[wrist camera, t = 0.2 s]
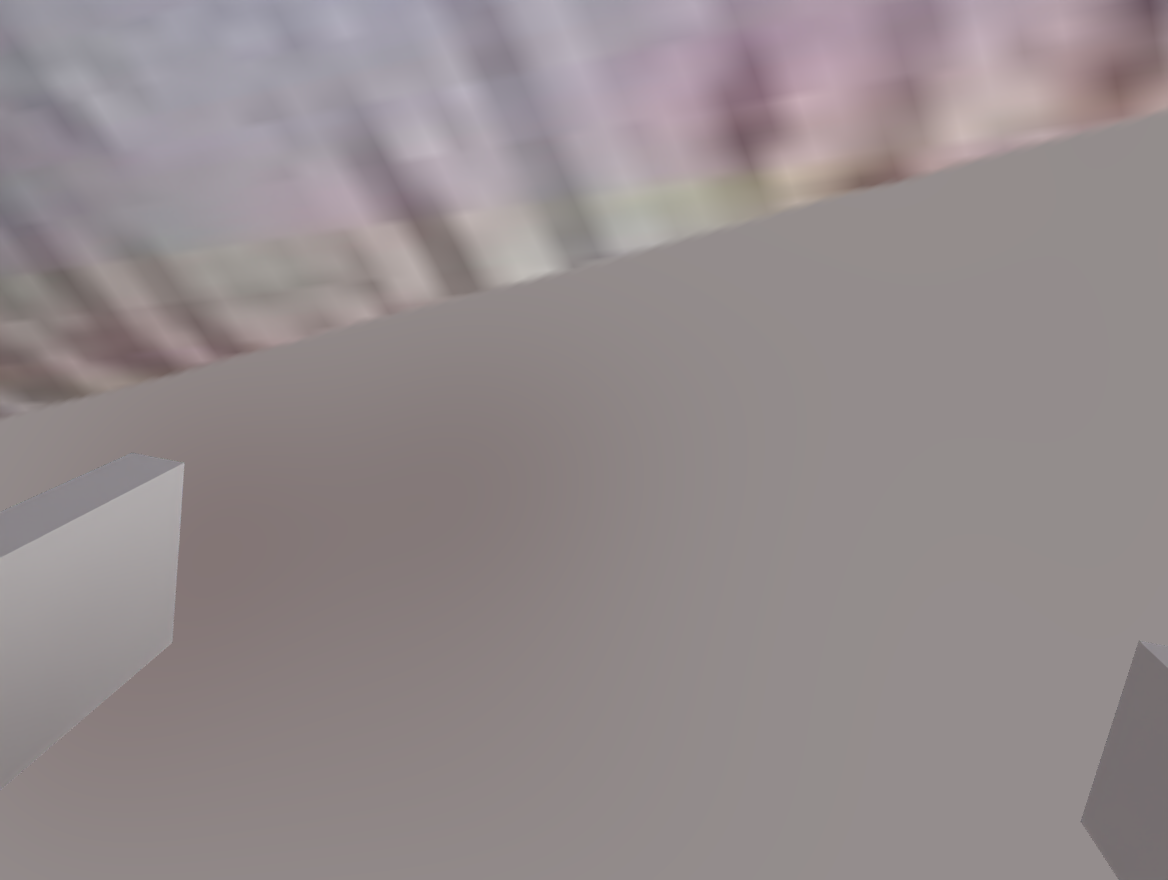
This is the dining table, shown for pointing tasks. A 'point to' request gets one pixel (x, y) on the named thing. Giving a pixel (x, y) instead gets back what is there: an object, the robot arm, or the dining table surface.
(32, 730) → the robot arm
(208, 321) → the dining table surface
